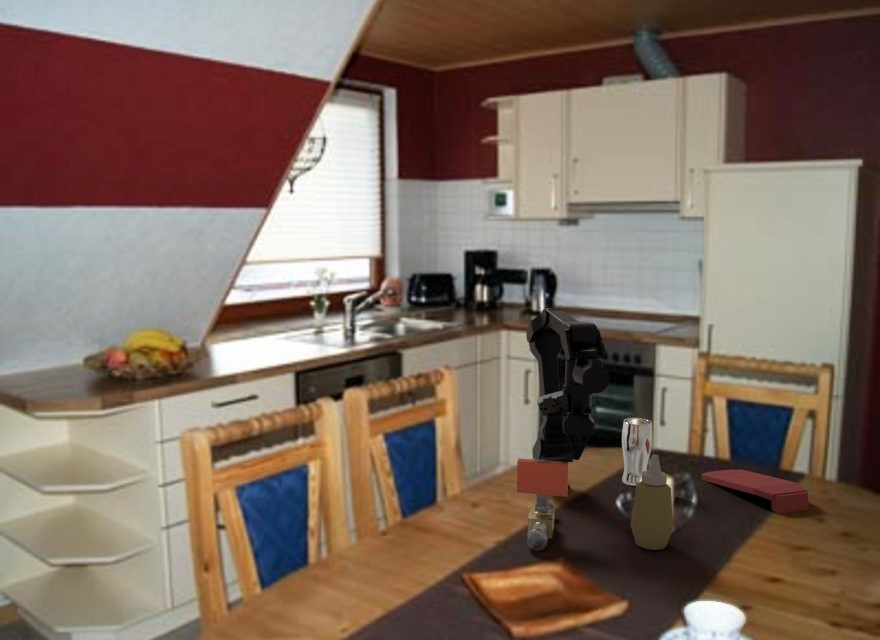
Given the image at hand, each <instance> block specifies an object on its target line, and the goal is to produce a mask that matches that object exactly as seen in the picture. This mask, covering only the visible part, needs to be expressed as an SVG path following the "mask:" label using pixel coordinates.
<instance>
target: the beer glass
mask: <svg viewBox="0 0 880 640" xmlns="http://www.w3.org/2000/svg"><path fill="white" fill-rule="evenodd" d="M622 424H623V425H622V431H621V432H622V433H621V446H622V447H621V448H622V456H623V465H624V468H623V473H622V478H621V482H622V483H623V484H625V485H628V486H630V487H632V486H633V487H636V484H637V482H638V479H639V477H641V476H642V472H643V471H646V470H648V464H649V460H650V454H651V451H652V446H653V445H652V443H653V422H652V420H649V419H646V418H641V417H627V418H625V419H623V423H622Z"/></svg>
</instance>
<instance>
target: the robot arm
mask: <svg viewBox="0 0 880 640" xmlns="http://www.w3.org/2000/svg"><path fill="white" fill-rule="evenodd" d="M525 333H526V341H527V343H528V346H529V351H530V353H531V354H532V355H533V357H534V358H535V360H536V361H537V367H538V369H537V370H538V377H539V387H540V388H539V389H540V396H539V397H538V398H537V400H536V401H537V406H538V408H539V412H540V415H541V417H542V420H543V421H542V423H541V424H540V427H539V429H538V431H537V438H536V441H535V443H534V444H533V446H532V451H531V453H532V459H533V460H538V459H543V460H548V461H559V462H569V463H573V462H574V461H579V460H580V458H581V456H582V454H583V453H584V450H585V449H586V447H587V445H588V443H589V441H590V440H591V437H592V436H593V434H594V433H595V421H594V417H592V416H591V415H592V414H593V413H592V411H593V409H592V408H593V407H592V397H593V395H594V394H595V395H596V394H600V393H602V392H604V391H605V390H606V389H607V387H608V386H609V384H610V379H611V378H610V377H611V376H610V374H609V372H608V370H607V369H606V368H605V367H604V366H602V359H606V355H605V353H606V347H605V344H604V341H603V337H602V334H601V332H600V329H599V328H598V327H597V324H595V323H593V322H589V321H586V322H585V321H579V320H577V319H576V318H575V317H573V316H572V315H570V314H569V313H567V311H566V309H565V308H562V307H546V308H544V309H542V311H541V313H540V314H539V315H537V316H536V317H534V318H533V319H531V320H530V322H529V324H528V326H527V328H526V332H525ZM562 349H563V351H564V357H565V365H564V366H565V368H564V369H565V372H564V384H563V385H562V390H561V385H560V384H561V382H560V375H559V374H560V373H559V363H558V356H559V355H560V352H561V350H562ZM590 414H591V415H590ZM569 488H571V485H570V484H569V483H568V489H569Z"/></svg>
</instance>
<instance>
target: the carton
mask: <svg viewBox="0 0 880 640" xmlns="http://www.w3.org/2000/svg"><path fill="white" fill-rule="evenodd" d="M700 476H701V477H700V478H701V480H703V481H705V482H708V483H711V484H716V485H718V486H723V487H725V488H729V489H733V490H736V491H737V490H738V491H741V492H744V493H748V494H750V495H754V496H755V495H756V496H757V497H761V498H764V499H766V500H770V503H771V511H772V512H774V513H776V514H786V513H787V514H788V513H793V512H800V511H808V510H809V493H808V489H806V488H805V487H804V486H802V484H800V483H798V482H795V481H790V480H786V479H782V478H779V477H775V476H770V475H766V474H762V473H757V472H753V471H750V470H747V469H746V470H744V469H725V470H713V471H705V472H704V473H702V474H701V475H700ZM807 509H808V510H807Z"/></svg>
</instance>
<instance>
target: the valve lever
mask: <svg viewBox="0 0 880 640" xmlns="http://www.w3.org/2000/svg"><path fill="white" fill-rule="evenodd" d="M569 463H570V462H559V461H548V460H543V459H538V460H534V459H533V458H532V459H531V458H520V457H519V458H518V459H517V465H516V466H517V467H516V468H517V470H516V475H517V476H516V493H520V494H530V495H532V494H533V495H536V502H537V503H536V502H535V505H534V508H535V512H536V513H548V504H547V498H548V496H556V497H568V493H569V492H568V491H569V488H568V484H569V467H570V465H569Z"/></svg>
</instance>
